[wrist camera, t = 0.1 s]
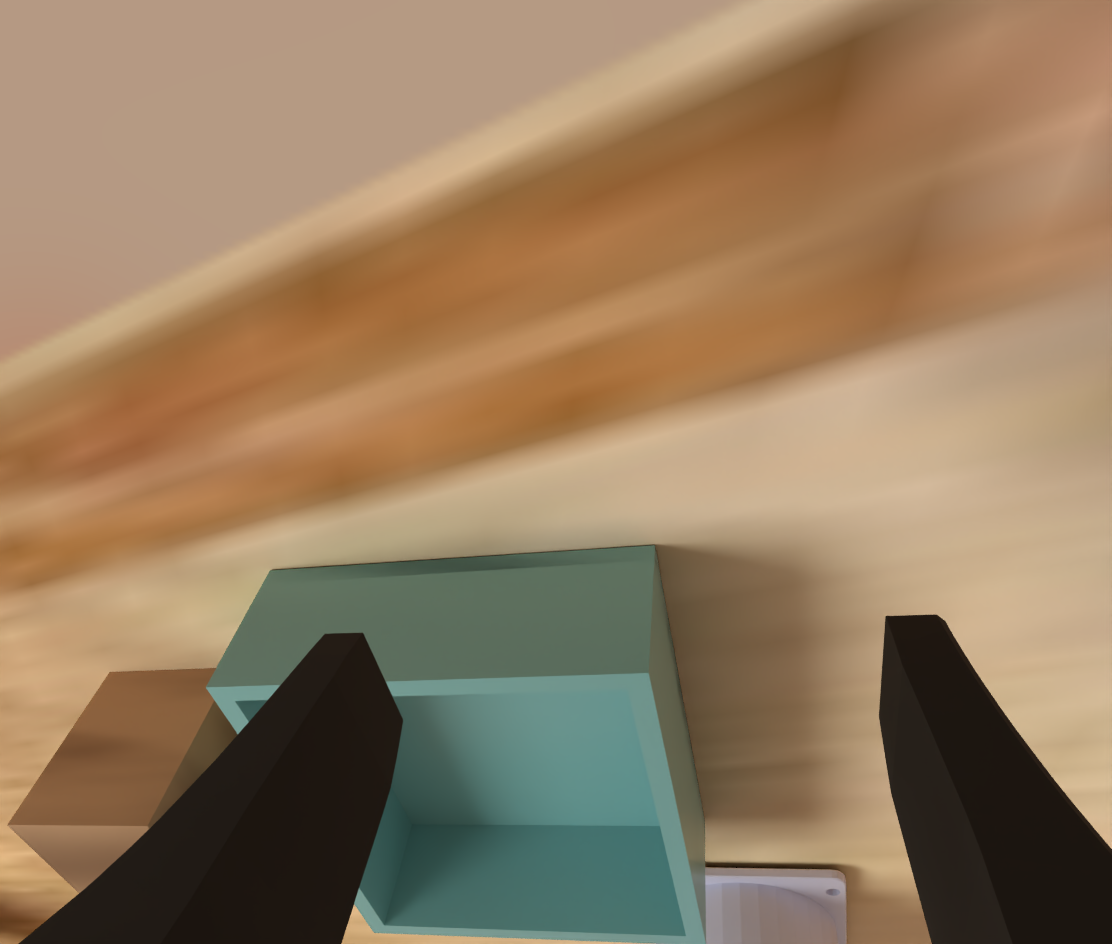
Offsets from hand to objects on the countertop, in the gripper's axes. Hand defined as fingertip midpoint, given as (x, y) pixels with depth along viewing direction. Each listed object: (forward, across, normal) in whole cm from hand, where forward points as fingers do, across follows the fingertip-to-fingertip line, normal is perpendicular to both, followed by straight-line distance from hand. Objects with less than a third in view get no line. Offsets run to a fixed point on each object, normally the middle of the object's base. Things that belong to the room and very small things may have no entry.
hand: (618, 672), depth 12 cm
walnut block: (+10, +18, +14) cm, 25 cm away
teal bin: (+10, +6, +14) cm, 18 cm away
